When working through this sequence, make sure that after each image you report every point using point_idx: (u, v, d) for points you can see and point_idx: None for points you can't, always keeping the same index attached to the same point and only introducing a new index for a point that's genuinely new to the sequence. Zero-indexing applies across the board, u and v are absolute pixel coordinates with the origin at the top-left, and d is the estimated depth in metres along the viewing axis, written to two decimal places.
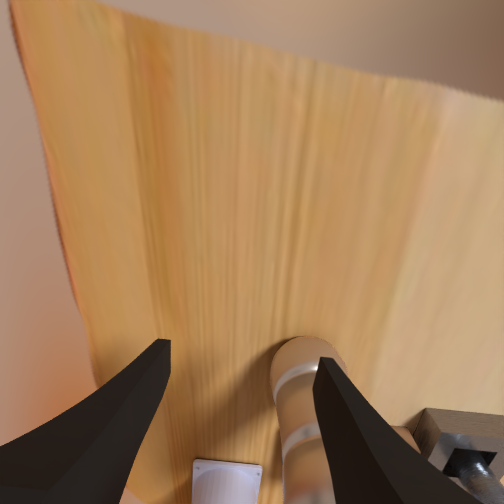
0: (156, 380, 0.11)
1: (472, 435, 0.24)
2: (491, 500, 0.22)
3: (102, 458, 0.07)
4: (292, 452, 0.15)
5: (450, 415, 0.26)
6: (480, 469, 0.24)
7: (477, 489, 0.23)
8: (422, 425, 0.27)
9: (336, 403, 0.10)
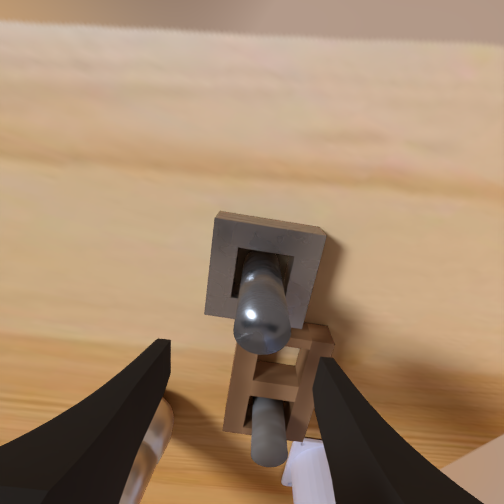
0: (156, 380, 0.11)
1: (208, 282, 0.20)
2: None
3: (102, 458, 0.07)
4: None
5: None
6: None
7: None
8: None
9: (336, 403, 0.10)
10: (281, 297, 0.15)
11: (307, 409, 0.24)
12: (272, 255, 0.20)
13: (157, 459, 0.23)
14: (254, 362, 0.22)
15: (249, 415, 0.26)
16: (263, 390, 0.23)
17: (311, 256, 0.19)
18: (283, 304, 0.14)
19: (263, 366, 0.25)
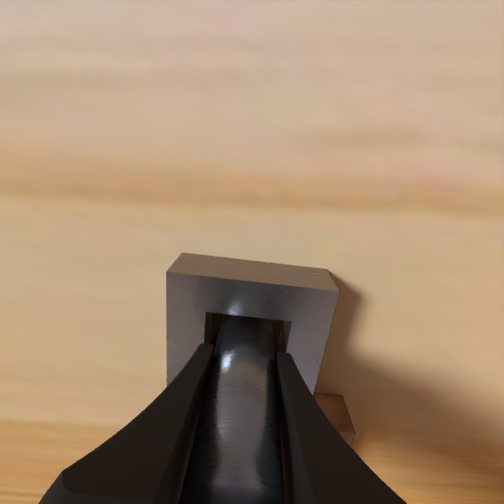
0: (204, 385, 0.11)
1: (168, 359, 0.14)
2: None
3: (175, 466, 0.07)
4: None
5: None
6: None
7: None
8: None
9: (283, 397, 0.10)
10: (268, 427, 0.08)
11: None
12: None
13: None
14: None
15: None
16: None
17: (317, 320, 0.12)
18: (271, 449, 0.08)
19: None
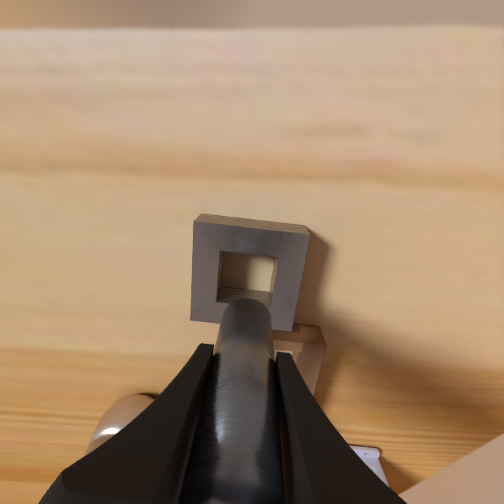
0: (204, 385, 0.11)
1: (192, 287, 0.19)
2: None
3: (175, 466, 0.07)
4: None
5: None
6: None
7: None
8: None
9: (283, 397, 0.10)
10: (268, 421, 0.08)
11: None
12: (260, 311, 0.14)
13: None
14: None
15: None
16: None
17: (296, 256, 0.18)
18: (270, 443, 0.08)
19: None
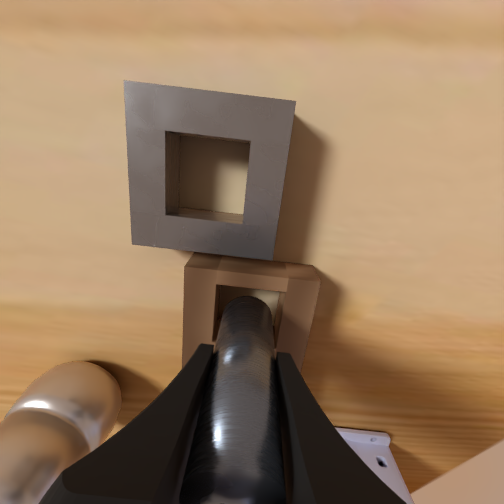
0: (204, 385, 0.11)
1: (130, 192, 0.14)
2: None
3: (175, 466, 0.07)
4: None
5: None
6: None
7: None
8: None
9: (283, 397, 0.10)
10: (266, 415, 0.08)
11: None
12: (258, 307, 0.14)
13: (90, 448, 0.17)
14: (211, 314, 0.16)
15: None
16: None
17: (275, 139, 0.13)
18: (269, 435, 0.08)
19: None
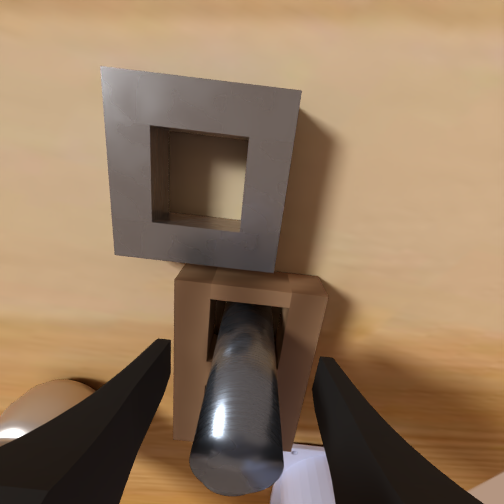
0: (156, 380, 0.11)
1: (111, 196, 0.12)
2: None
3: (102, 458, 0.07)
4: None
5: None
6: None
7: None
8: None
9: (336, 403, 0.10)
10: (266, 390, 0.09)
11: (294, 403, 0.16)
12: None
13: None
14: (205, 332, 0.14)
15: None
16: None
17: (278, 135, 0.11)
18: (268, 407, 0.09)
19: None
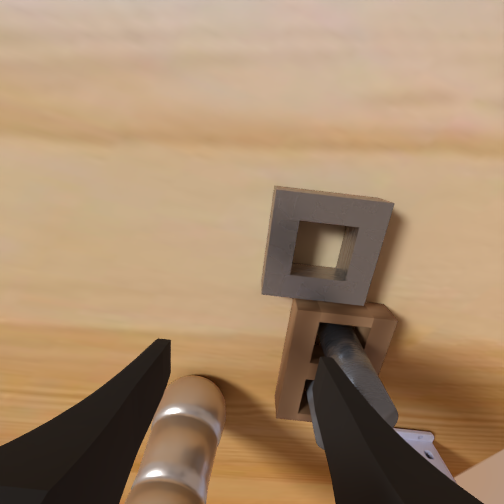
0: (156, 380, 0.11)
1: (267, 259, 0.19)
2: None
3: (102, 458, 0.07)
4: None
5: (264, 259, 0.21)
6: None
7: None
8: None
9: (336, 403, 0.10)
10: (378, 379, 0.17)
11: None
12: None
13: (217, 443, 0.22)
14: (312, 343, 0.21)
15: (301, 401, 0.25)
16: None
17: (377, 226, 0.18)
18: (384, 388, 0.16)
19: (316, 349, 0.24)
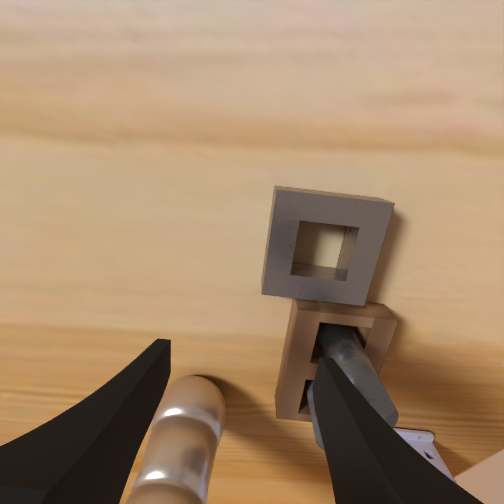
0: (156, 380, 0.11)
1: (267, 259, 0.19)
2: None
3: (102, 458, 0.07)
4: None
5: (264, 259, 0.21)
6: None
7: None
8: None
9: (336, 403, 0.10)
10: (378, 379, 0.16)
11: None
12: None
13: (217, 443, 0.22)
14: (312, 343, 0.21)
15: (301, 401, 0.25)
16: None
17: (377, 226, 0.18)
18: (384, 389, 0.16)
19: (316, 349, 0.24)
